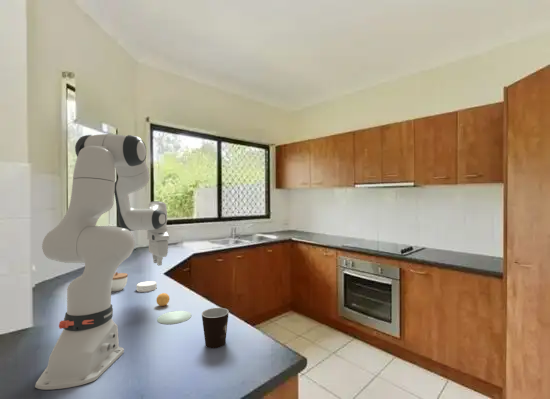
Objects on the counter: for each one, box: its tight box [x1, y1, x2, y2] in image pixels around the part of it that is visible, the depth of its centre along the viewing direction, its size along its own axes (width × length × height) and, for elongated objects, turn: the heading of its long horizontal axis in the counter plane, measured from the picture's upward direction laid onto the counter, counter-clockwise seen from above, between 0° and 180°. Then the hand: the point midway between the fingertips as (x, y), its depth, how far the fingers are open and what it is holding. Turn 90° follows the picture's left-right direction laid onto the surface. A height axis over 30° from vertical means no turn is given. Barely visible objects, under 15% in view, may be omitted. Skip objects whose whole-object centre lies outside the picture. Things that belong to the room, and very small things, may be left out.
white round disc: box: [136, 280, 158, 293], centre depth 153 cm, size 10×10×4 cm
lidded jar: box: [111, 271, 128, 292], centre depth 153 cm, size 11×11×9 cm
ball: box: [155, 292, 170, 307], centre depth 127 cm, size 6×6×6 cm
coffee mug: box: [201, 307, 230, 349], centre depth 93 cm, size 12×9×10 cm
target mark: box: [156, 310, 192, 325], centre depth 114 cm, size 13×13×1 cm
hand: (157, 264), depth 135 cm, fingers open, 5 cm apart
